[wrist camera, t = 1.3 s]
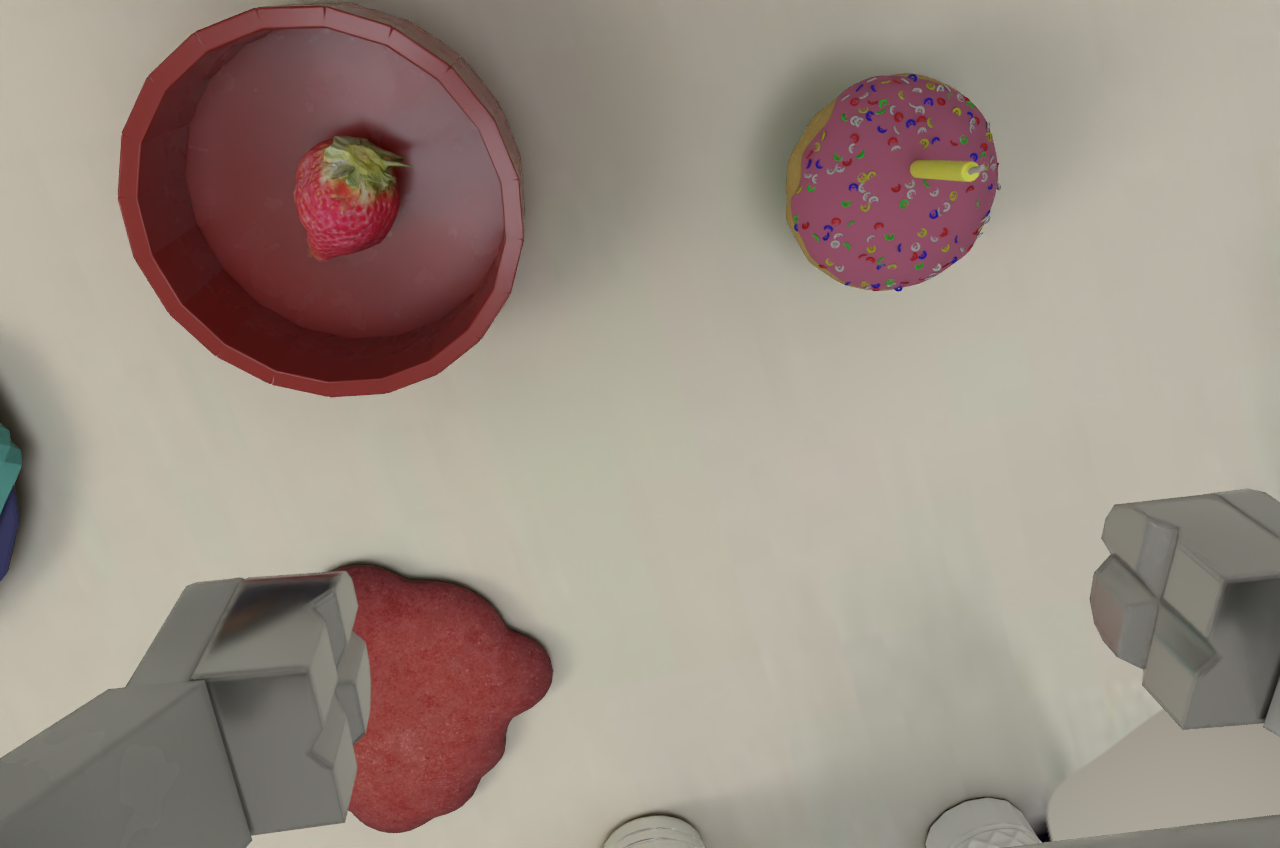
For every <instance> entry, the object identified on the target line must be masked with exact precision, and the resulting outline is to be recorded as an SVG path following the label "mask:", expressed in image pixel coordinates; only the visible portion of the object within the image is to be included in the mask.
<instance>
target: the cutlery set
mask: <svg viewBox="0 0 1280 848" xmlns="http://www.w3.org/2000/svg"><path fill="white" fill-rule="evenodd" d="M21 466H22V457H21V450H20V449H19V448H18V447H17V446H16V445H15V444H14V443H13V442H12V441H11V440H10V431H9V430H8V429H7V428H5V427H4V426H3V425H2V424H1V423H0V581H1V580H2V579H3V577H4V576H5V575H6V573H7V571H8V569H9V565H10V560H11V556H12V552H13V547H14V543H15V539H16V534H17V530H18V525H19V521H20V513H19V507H18V502H17V497H16V491H15V486H14V483H15V481H16V479H17V476H18V474H19V471H20V469H21Z"/></svg>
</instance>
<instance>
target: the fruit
mask: <svg viewBox="0 0 1280 848" xmlns="http://www.w3.org/2000/svg"><path fill="white" fill-rule="evenodd" d="M404 160H405V158H403V157H402V156H399V155H397V154H395V153H393V152H390V151H386V150H384V149H382V148H379V147H377V146H375V145H374V144H373V143H371V142H370V141H369V140H368V139H365V138H360V137H350V136H335V137H334V138H332V139H328V140H325V141H322V142H319V143H318V144H316V145H315V146H314V147H312V148H311V149H310V150H308V151H307V152H306V153H305V154H304V156H303V157H302V158H301V159H300V162H299V164H298V166H297V169H296V175H295V176H296V186H295V190H294V192H293V194H294V201H295V205H296V208H297V210H298V215H299V218H300V221H301V223H302V225H303V226H304V227H305V229H306V231H307V238H308V244H309V248H310V251H311V254H312V255H313V257H314V258H315V259H316V260H318V261H320V262H323V261H327V260H329V259H331V258H334V257H336V256H340V255H349V254H353V253H356V252H359V251H363V250H365V249H368V248H370V247H372V246H375V245H378V244H380V243H381V242H382V241H383V240H384V239H385V238H386V236H387V234H388V233H389V231H390V230H391V228H392V225H393V223H394V221H395V219H396V216H397V212H398V209H399V205H400V191H399V185H398V181H397V178H396V175H395V173H394V170H393V167H394V166H397V167H410V168H414V167H413V166H410V165H407V164H402V163H400V162H397V161H404Z"/></svg>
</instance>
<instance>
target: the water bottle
mask: <svg viewBox="0 0 1280 848" xmlns="http://www.w3.org/2000/svg"><path fill="white" fill-rule="evenodd" d="M603 848H705V846H704V843H703V841H702V839H701V837H700V835H699V833H698V832H697V831H696V830H695V829H694V828H693V827H692V826H691V825H690V824H688V823H687V822H685V821H683V820H681V819H678V818H675V817H671V816H663V815H653V816H645V817H641V818H637V819H634V820H632V821H630V822H627V823H626V824H624V825H622V826H621V827H619V828H618V829H617V830H615V831H614V832H613V833H612V834H611V835H610V837H609V838H608V839H607V841H606V842H605V844H604V847H603Z"/></svg>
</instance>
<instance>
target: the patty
mask: <svg viewBox="0 0 1280 848" xmlns="http://www.w3.org/2000/svg"><path fill="white" fill-rule="evenodd" d="M337 571H346V572H347V573H348V574H349V576H350V577H351V578H352V581H353V585H354V589H355V594H356V598H357V602H358V610H357V613H356V617H355V621H354V624H353V628H352V631H353V632H355V633H356V634H357V635H358V636H359V637H360V638H362V639H363V640H364V641H365V642H366V647H367V652H368V658H369V664H370V676H371V699H370V714H369V719H368V724H367V729H366V734H365V735H364V736H363V737H362V738H361V739H360V740H359V741H358V742H356V743H355V744H354V745H353V748H354V753H355V758H356V763H357V767H358V769H357V773H356V778H355V782H354V786H353V790H352V795H351V799H350V803H349V807H348V811H351V812H352V813H353V814H354V815H355V816H356V817H357V818H358V819H359V820H360V821H361V822H362V823H364V824H365V825H366V826H368V827H371V828H373V829H376V830H378V831H381V832H387V833H401V832H406V831H410V830H412V829H415V828H417V827H419V826H421V825H423V824H425V823H426V822H428V821H430V820H431V819H433V818H435V817H438V816H441V815H445V814H448V813H450V812H452V811H455V810H457V809H458V808H460V807H461V806H463V805H464V804H465V803H466V802H467V801H468V800H469V799H470V798H471V797H472V796H473V794H474V792H475V790H476V788H477V786H478V784H479V782H480V779H481V778H482V777H483V776H484V775H485V774H486V773H487V772H489V771H490V770H491V769H492V768H493V767H494V766H495V765H496V764H497V763H498V762H499V760H500V759H501V758H502V756H503V754H504V751H505V744H506V731H507V727H508V725H509V723H510V721H511V720H512V718H513V717H515V716H517V715H519V714H521V713H522V712H524V711H526V710H528V709H530V708H532V707H533V706H534V705H535V704H537V703H538V702H539V701H540V700H541V699H542V698H543V697H544V696H545V695H546V693H547V691H548V689H549V687H550V685H551V683H552V675H553V669H552V665H551V661H550V658H549V656H548V654H547V653H546V651H545V650H544V649H543V648H542V647H541V646H540V645H539V644H538V643H537V642H535V641H534V640H533V639H531V638H529V637H526V636H524V635H521V634H519V633H516V632H514V631H512V630H511V629H509V628H507V627H506V626H505V624H504V622H503V620H502V619H501V617H500V616H499V615H498V613H497V612H496V610H495V609H494V608H493V607H492V606H491V605H490V604H489V603H488V602H487V601H486V600H484V599H483V598H482V597H480V596H479V595H477V594H475V593H473V592H471V591H470V590H467V589H465V588H463V587H460V586H457V585H453V584H449V583H445V582H438V581H412V580H408V579H405V578H403V577H401V576H399V575H397V574H395V573H393V572H391V571H388V570H386V569H383V568H380V567H378V566H371V565H351V566H347V567H342V568H339V569H337V570H334V571H332V572H337Z"/></svg>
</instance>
